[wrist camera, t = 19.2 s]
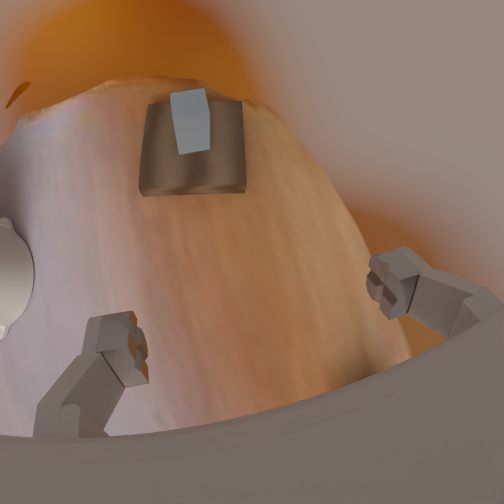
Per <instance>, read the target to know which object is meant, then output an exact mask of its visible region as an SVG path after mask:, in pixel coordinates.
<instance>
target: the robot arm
mask: <svg viewBox="0 0 504 504" xmlns="http://www.w3.org/2000/svg"><path fill="white" fill-rule="evenodd" d="M369 267H370V269H371V271H370V272H369V274H368V275H367V280H366V286H367V291H368V293H369V295H370V297H371V298H372V299H373V300H374V301H376V302H378V303H380V310H381V311H382V312H383V313H384V315H385V316H386V317H387V318H388V320H391V319H394V318H397V317H400V316H403V315H405V314H408V316H410V317H412V318H414V319H416V320H417V321H419V322H421V323H423V324H425V325H426V326H428V327H430V328H432V329H433V330H435V331H437V332H439V333H441V334H443V335H444V336H446V337H447V338H446V340H445V342H443V343H441V344H439V345H437V346H435V347H433V348H431V349H429V350H427V351H425V352H423V353H421V354H419V355H417V356H415V357H412V358H410V359H408V360H406V361H404V362H402V363H399V364H397V365H395V366H393V367H390V368H388V369H386V370H383V371H381V372H379V373H376V374H374V375H371V376H369V377H366V378H364V379H361V380H359V381H356V382H354V383H351V384H348V385H346V386H343V387H340V388H337V389H335V390H332V391H329V392H326V393H323V394H320V395H317V396H314V397H311V398H308V399H305V400H301V401H298V402H295V403H291V404H288V405H285V406H281V407H278V408H274V409H270V410H267V411H263V412H259V413H255V414H251V415H247V416H243V417H238V418H234V419H229V420H225V421H220V422H215V423H210V424H205V425H199V426H193V427H188V428H181V429H175V430H168V431H161V432H153V433H144V434H134V435H123V436H109V435H108V434H107V433H106V432H105V431H104V430H103V429H104V427H105V426H106V424H107V422H108V420H109V418H110V416H111V414H112V412H113V410H114V408H115V407H116V405H117V403H118V401H119V399H120V397H121V395H122V394H123V392H124V390H125V388H126V387H132V386H138V385H143V384H149V380H148V366H147V364H146V362H145V360H146V358H147V357H148V349H147V343H146V339H145V336H144V333H143V331H142V329H141V328H139V327H137V318H136V316H135V314H134V312H133V311H126V312H120V313H114V314H108V315H104V316H97V317H91V318H90V319H89V320H88V322H87V327H86V332H85V337H84V342H83V348H82V353H81V355H79V356H77V357H76V358H75V359H74V360H73V362H72V363H71V364H70V365H69V366H68V368H67V369H66V370H65V371H64V372H63V374H62V375H61V376H60V377H59V378H58V380H57V381H56V382H55V383H54V385H53V386H52V387H51V388H50V390H49V391H48V392H47V393H46V395H45V396H44V397H43V398H42V400H41V401H40V402H39V403H38V406H37V411H36V418H35V424H34V431H33V437H21V436H8V435H0V504H504V304H503V303H502V302H501V301H500V300H499V299H498V298H497V297H496V296H495V295H494V294H493V293H492V292H491V291H490V290H489V289H488V288H487V287H484V286H482V285H479V284H477V283H474V282H471V281H468V280H465V279H463V278H460V277H457V276H455V275H452V274H449V273H446V272H444V271H441V270H438V269H431V268H430V267H429V266H428V265H427V264H426V263H425V262H424V261H423V260H422V259H421V258H420V257H418V256H417V255H416V254H415V253H414V252H413V251H412V250H411V249H409V248H408V247H402V248H398V249H395V250H393V251H389V252H386V253H381V254H378V255H374V256H372V257H371V258H370V260H369ZM33 280H34V269H33V261H32V257H31V253H30V251H29V248H28V247H27V245H26V243H25V242H24V240H23V239H22V238H21V237H20V236H19V235H17V233H16V232H15V230H14V227H13V224H12V222H11V220H10V219H9V218H6V217H3V218H0V340H3V339H4V338H5V337H6V335H7V332H8V330H9V328H10V326H11V324H12V323H13V322H14V321H15V320H17V319H18V318H19V317H20V315H21V314H22V313H23V311H24V310H25V308H26V306H27V304H28V302H29V299H30V296H31V293H32V288H33Z"/></svg>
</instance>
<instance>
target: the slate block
mask: <svg viewBox="0 0 504 504" xmlns="http://www.w3.org/2000/svg"><path fill="white" fill-rule="evenodd" d="M170 101H171V109H172V118H173V124H174V130H175V135H176V141H177V146H178V152H179V155H181V154H186V153H192V152H198V151H203V150H209V149H210V112H209V107H208V102H207V97H206V93H205V88H201V89H194V90H188V91H181V92H176V93H170Z"/></svg>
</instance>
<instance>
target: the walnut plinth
mask: <svg viewBox="0 0 504 504" xmlns="http://www.w3.org/2000/svg"><path fill="white" fill-rule="evenodd" d="M207 102H208V107H209V112H210V149H209V150H203V151H198V152H192V153H186V154H181V155H179V152H178V146H177V141H176V135H175V130H174V124H173V118H172V109H171V103H161V104H149V105H148V109H147V116H146V123H145V130H144V138H143V147H142V155H141V165H140V176H139V190H140V192H141V193H142V195H143V197H146V196H165V195H187V194H218V193H245V188H246V184H247V183H246V166H245V149H244V133H243V116H242V101H207Z"/></svg>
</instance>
